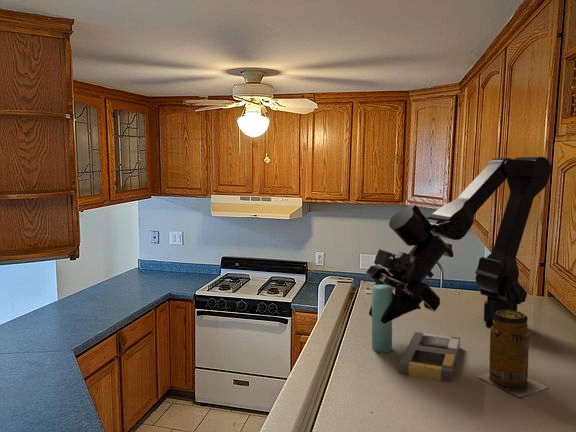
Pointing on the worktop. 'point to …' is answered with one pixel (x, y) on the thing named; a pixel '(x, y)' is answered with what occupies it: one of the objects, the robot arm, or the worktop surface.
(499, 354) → the condiment
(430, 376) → the socket plate
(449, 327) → the worktop surface
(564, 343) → the worktop surface
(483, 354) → the worktop surface
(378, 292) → the plug
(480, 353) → the worktop surface
